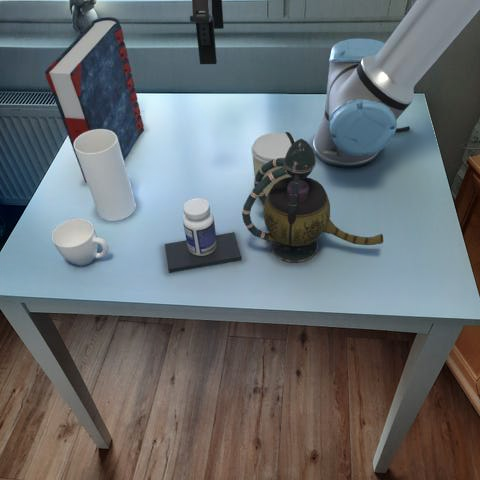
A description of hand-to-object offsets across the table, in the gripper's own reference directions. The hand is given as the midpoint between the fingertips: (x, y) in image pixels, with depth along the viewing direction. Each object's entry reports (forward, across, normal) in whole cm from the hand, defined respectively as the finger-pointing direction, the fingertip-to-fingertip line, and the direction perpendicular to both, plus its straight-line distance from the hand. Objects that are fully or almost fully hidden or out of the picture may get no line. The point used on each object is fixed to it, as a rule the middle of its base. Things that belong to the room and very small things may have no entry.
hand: (212, 44), depth 82 cm
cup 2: (+29, +24, -25) cm, 45 cm away
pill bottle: (+28, +21, -2) cm, 35 cm away
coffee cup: (+29, +4, +11) cm, 31 cm away
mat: (+29, +22, -2) cm, 36 cm away
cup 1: (+29, +9, -22) cm, 38 cm away
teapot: (+29, +21, +19) cm, 40 cm away
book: (+29, -11, -27) cm, 41 cm away
